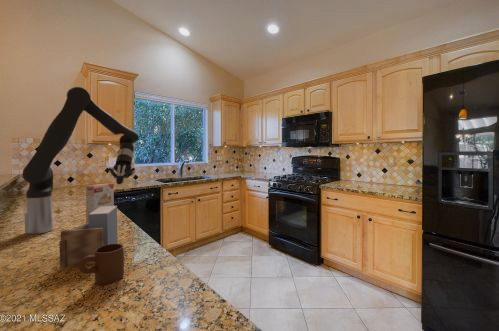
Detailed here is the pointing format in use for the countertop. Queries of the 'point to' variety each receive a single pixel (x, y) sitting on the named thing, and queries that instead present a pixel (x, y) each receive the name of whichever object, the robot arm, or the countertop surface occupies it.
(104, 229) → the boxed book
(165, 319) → the countertop surface
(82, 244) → the shelf corner
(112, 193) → the cracker box
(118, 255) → the mug
